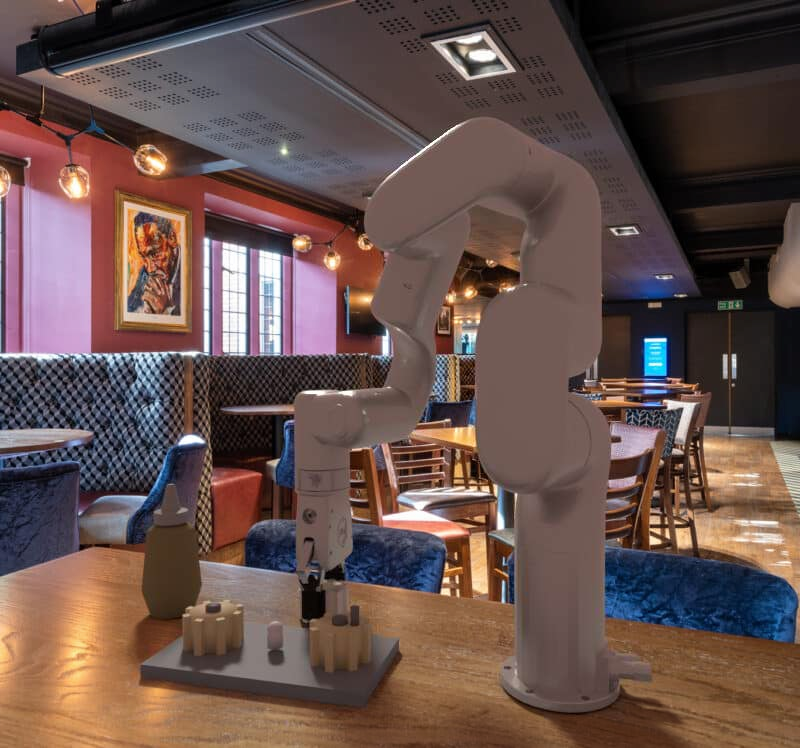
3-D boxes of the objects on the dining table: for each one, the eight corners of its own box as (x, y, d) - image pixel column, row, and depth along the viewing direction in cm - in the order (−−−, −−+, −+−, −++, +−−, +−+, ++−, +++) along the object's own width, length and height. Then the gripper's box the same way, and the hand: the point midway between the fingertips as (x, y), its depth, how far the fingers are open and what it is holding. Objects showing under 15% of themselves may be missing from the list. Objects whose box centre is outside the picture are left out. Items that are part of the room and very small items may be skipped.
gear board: (399, 650, 82) (398, 588, 81) (362, 708, 68) (362, 634, 68) (207, 629, 88) (207, 572, 88) (140, 677, 75) (139, 610, 75)
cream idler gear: (355, 608, 95) (355, 580, 95) (339, 627, 88) (338, 596, 88) (311, 604, 97) (310, 577, 97) (291, 622, 90) (291, 592, 90)
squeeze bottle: (183, 625, 90) (182, 491, 89) (129, 621, 91) (127, 489, 91) (212, 604, 97) (211, 480, 97) (161, 600, 99) (160, 478, 99)
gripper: (324, 493, 83) (326, 637, 83) (368, 471, 100) (369, 590, 100) (269, 490, 85) (271, 631, 85) (320, 469, 102) (322, 587, 102)
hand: (324, 608), depth 93 cm, fingers closed on cream idler gear, 6 cm apart
